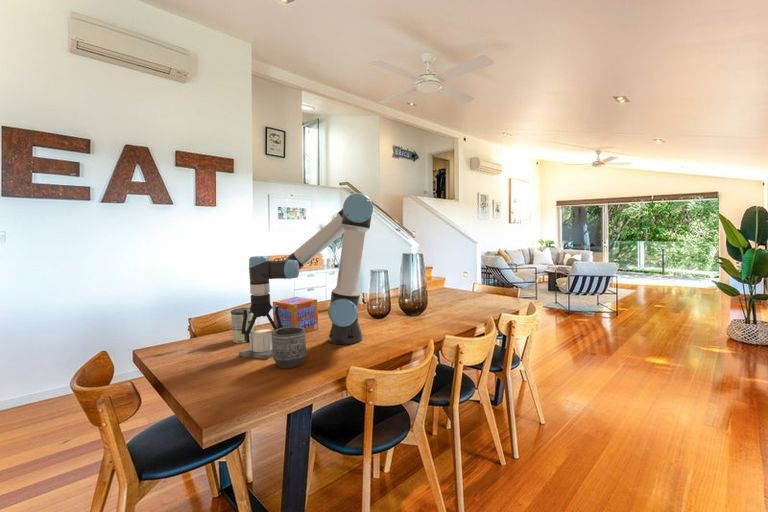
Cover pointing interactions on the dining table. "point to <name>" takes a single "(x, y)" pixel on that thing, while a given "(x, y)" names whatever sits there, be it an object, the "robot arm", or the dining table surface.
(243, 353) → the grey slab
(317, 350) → the dining table surface
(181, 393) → the dining table surface
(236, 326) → the coffee can
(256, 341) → the cap
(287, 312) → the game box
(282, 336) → the planter
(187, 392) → the dining table surface
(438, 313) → the dining table surface
